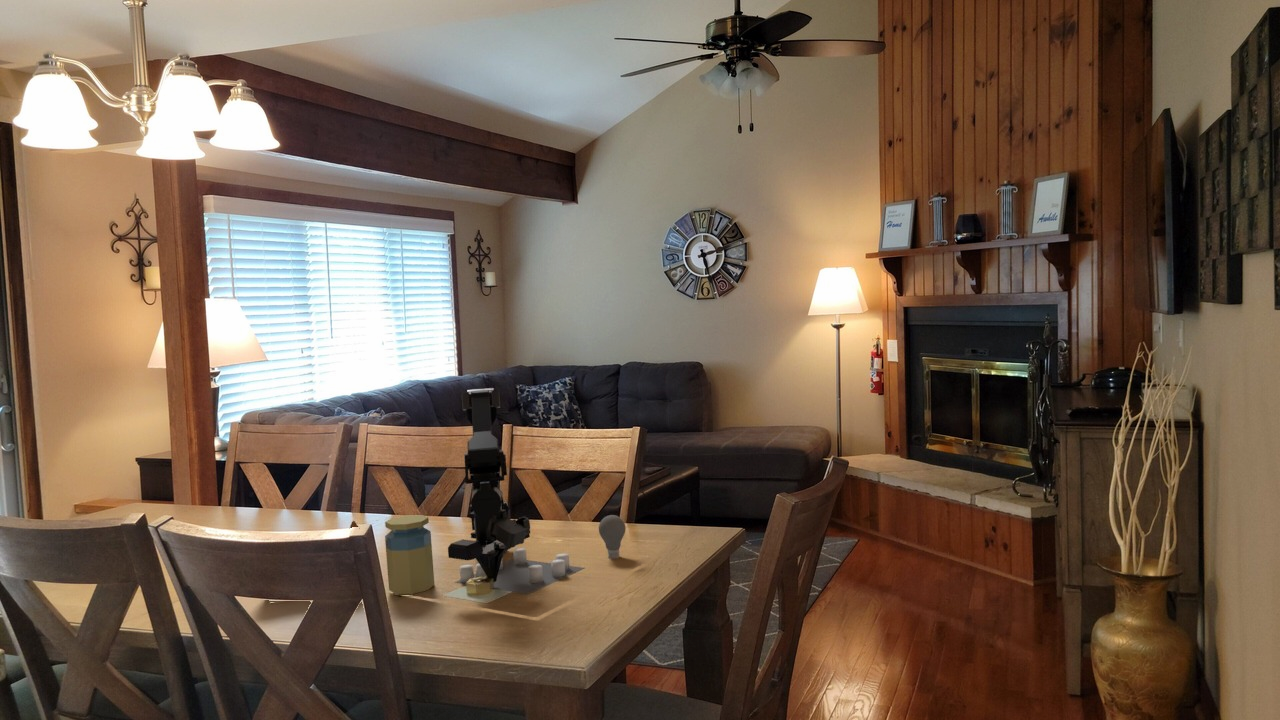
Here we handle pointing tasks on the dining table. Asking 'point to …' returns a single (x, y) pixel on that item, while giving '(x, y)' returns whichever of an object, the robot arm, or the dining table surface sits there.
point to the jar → (409, 555)
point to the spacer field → (523, 573)
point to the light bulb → (612, 534)
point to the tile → (484, 598)
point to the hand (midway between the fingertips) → (493, 581)
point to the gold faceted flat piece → (479, 585)
